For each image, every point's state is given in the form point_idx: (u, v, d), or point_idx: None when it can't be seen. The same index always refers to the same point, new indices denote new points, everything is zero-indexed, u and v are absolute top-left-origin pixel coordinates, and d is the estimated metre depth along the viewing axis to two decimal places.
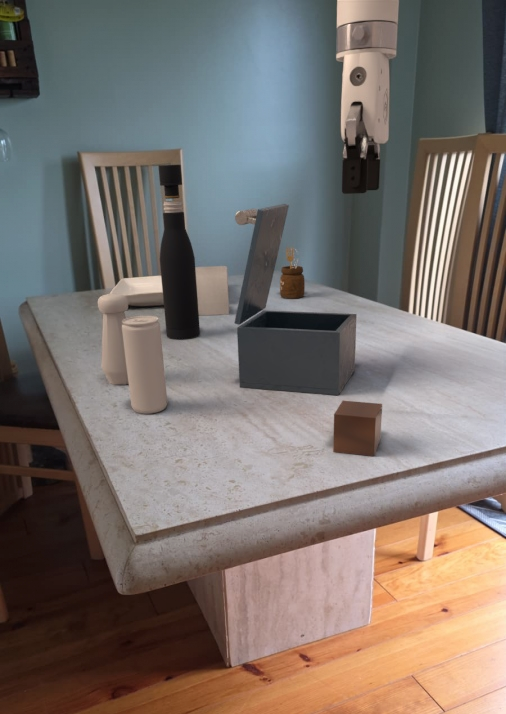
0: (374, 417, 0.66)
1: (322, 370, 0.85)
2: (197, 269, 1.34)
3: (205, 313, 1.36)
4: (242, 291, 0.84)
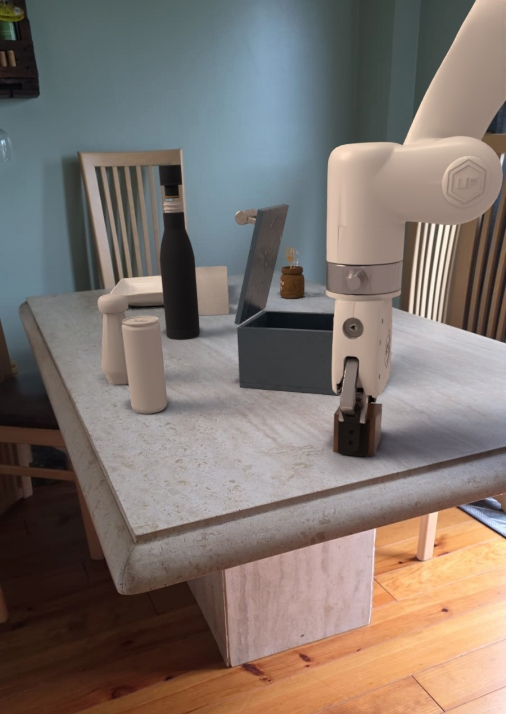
0: (374, 417, 0.66)
1: (322, 370, 0.85)
2: (197, 269, 1.34)
3: (205, 313, 1.36)
4: (242, 291, 0.84)
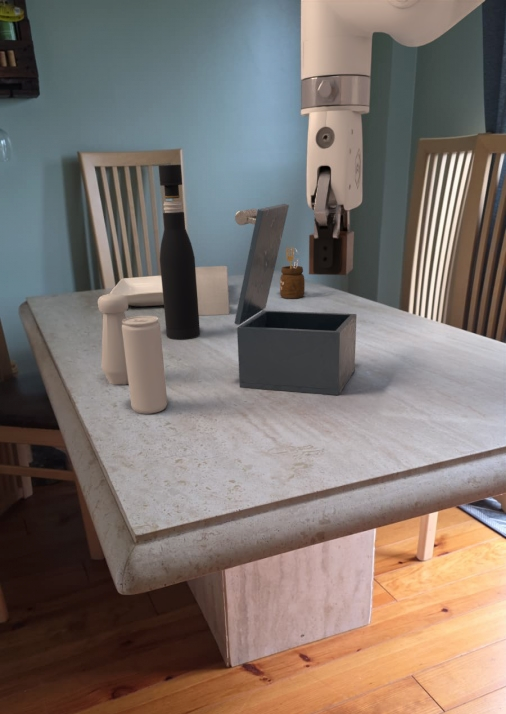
0: (346, 235, 0.72)
1: (322, 370, 0.85)
2: (197, 269, 1.34)
3: (205, 313, 1.36)
4: (242, 291, 0.84)
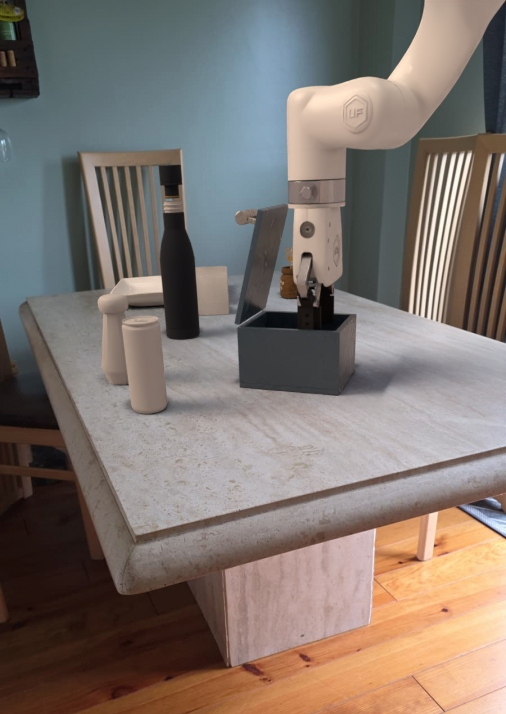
0: None
1: (322, 370, 0.85)
2: (197, 269, 1.34)
3: (205, 313, 1.36)
4: (242, 291, 0.84)
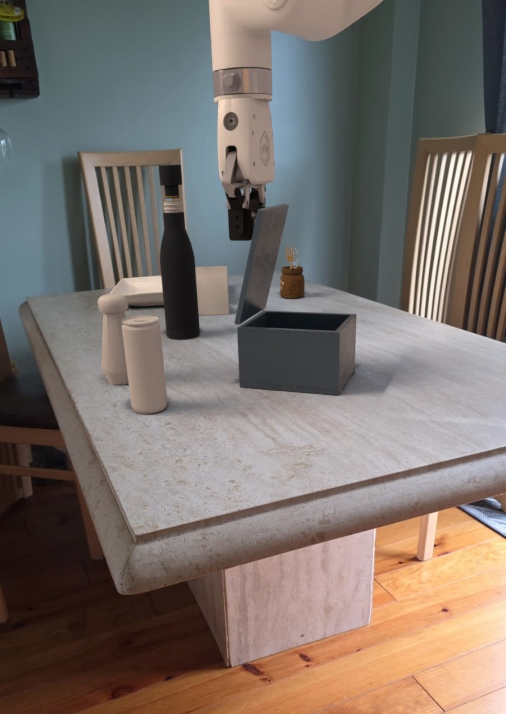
0: None
1: (322, 370, 0.85)
2: (197, 269, 1.34)
3: (205, 313, 1.36)
4: (242, 291, 0.84)
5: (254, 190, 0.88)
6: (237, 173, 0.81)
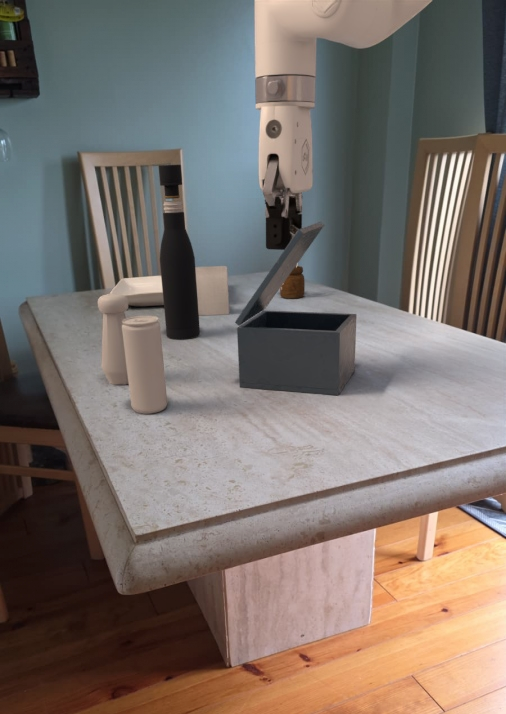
0: None
1: (322, 370, 0.85)
2: (197, 269, 1.34)
3: (205, 313, 1.36)
4: (253, 297, 0.84)
5: (290, 197, 0.87)
6: (277, 181, 0.80)
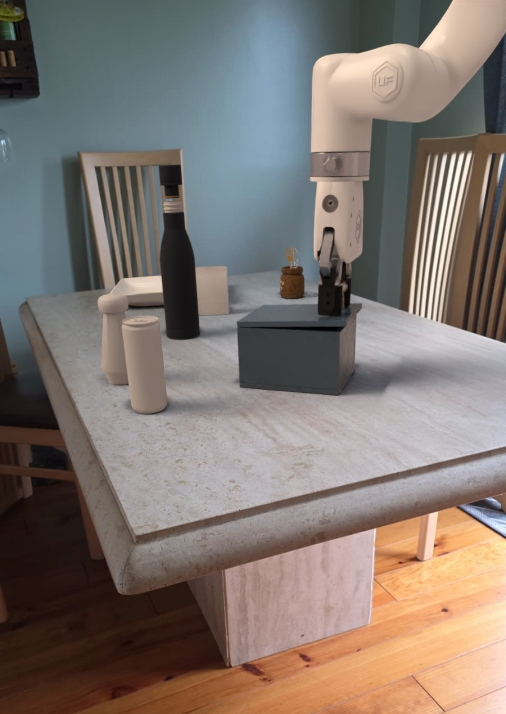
0: None
1: (322, 370, 0.85)
2: (197, 269, 1.34)
3: (205, 313, 1.36)
4: (268, 323, 0.85)
5: None
6: None
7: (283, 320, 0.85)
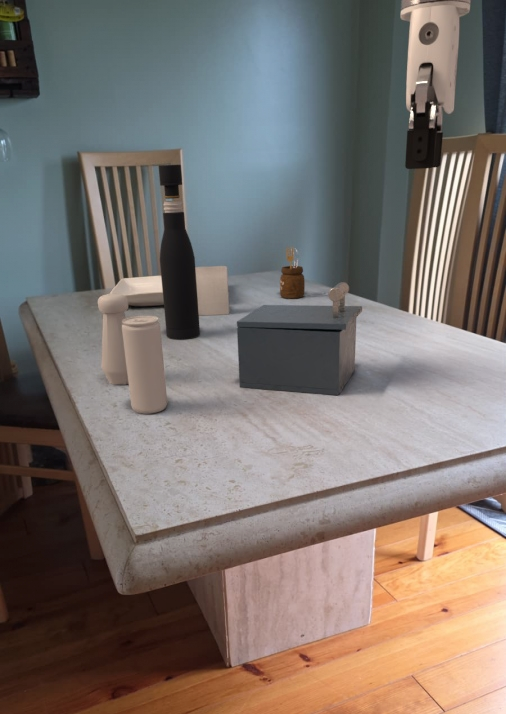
0: None
1: (322, 370, 0.85)
2: (197, 269, 1.34)
3: (205, 313, 1.36)
4: (268, 324, 0.85)
5: None
6: None
7: (283, 321, 0.85)
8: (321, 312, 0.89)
